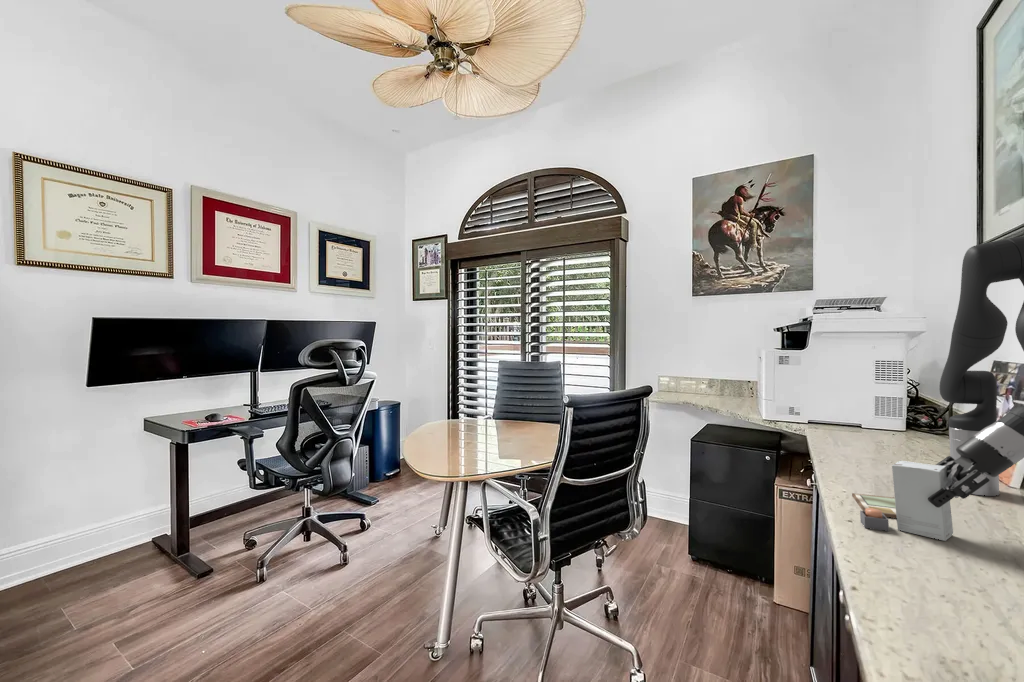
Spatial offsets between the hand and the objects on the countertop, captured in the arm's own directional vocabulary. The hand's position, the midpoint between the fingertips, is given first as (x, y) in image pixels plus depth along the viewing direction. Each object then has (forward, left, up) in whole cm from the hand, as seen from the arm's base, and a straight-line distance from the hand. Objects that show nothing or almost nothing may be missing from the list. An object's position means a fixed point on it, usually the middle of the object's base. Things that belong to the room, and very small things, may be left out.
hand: (924, 497), depth 97 cm
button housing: (0, -9, -8) cm, 12 cm away
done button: (0, -9, -6) cm, 11 cm away
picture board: (-15, -2, -8) cm, 17 cm away
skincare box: (0, 0, -8) cm, 8 cm away
